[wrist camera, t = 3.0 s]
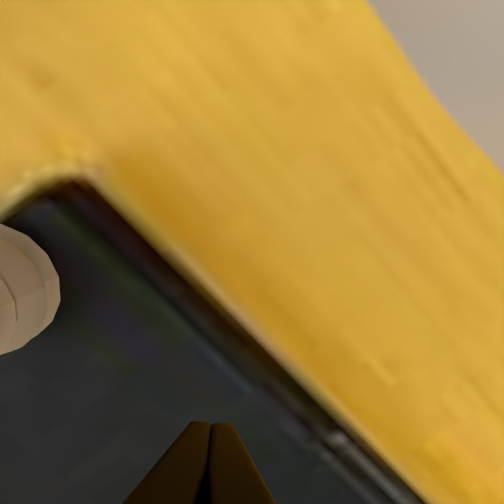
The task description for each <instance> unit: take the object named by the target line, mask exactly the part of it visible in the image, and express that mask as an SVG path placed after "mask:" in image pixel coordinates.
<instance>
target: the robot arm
mask: <svg viewBox="0 0 504 504" xmlns="http://www.w3.org/2000/svg"><path fill="white" fill-rule="evenodd" d="M122 504H276V503H275V501H274V499H273V497H272V496H271V494H270V492H269V490H268V488H267V486H266V485H265V483H264V481H263V479H262V477H261V475H260V474H259V472H258V470H257V468H256V466H255V464H254V463H253V461H252V459H251V457H250V455H249V453H248V451H247V450H246V448H245V446H244V444H243V442H242V440H241V439H240V437H239V435H238V433H237V431H236V429H235V428H234V426H233V425H232V424H226V423H214V424H213V425H212V429H211V424H210V423H209V422H197V421H192V422H191V423H189V425H188V426H187V427H186V428H185V429H184V431H183V432H182V433H181V434H180V435H179V437H178V438H177V439H176V440H175V441H174V443H173V444H172V445H171V446H170V447H169V448H168V450H167V451H166V452H165V453H164V454H163V456H162V457H161V458H160V459H159V460H158V462H157V463H156V464H155V465H154V466H153V468H152V469H151V470H150V471H149V472H148V474H147V475H146V476H145V477H144V478H143V480H142V481H141V482H140V483H139V484H138V485H137V487H136V488H135V489H134V490H133V491H132V493H131V494H130V495H129V496H128V497H127V499H126V500H125V501H124V502H123V503H122Z"/></svg>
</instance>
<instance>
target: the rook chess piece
mask: <svg viewBox="0 0 504 504" xmlns="http://www.w3.org/2000/svg"><path fill="white" fill-rule="evenodd" d="M59 303H60V286H59V276H58V274H57V272H56V270H55V268H54V266H53V264H52V262H51V260H50V258H49V256H48V254H47V253H46V252H44V251H43V250H42V249H41V248H40V247H39V246H38V245H37V244H36V243H35V242H34V241H33V240H32V239H31V238H30V237H29V236H27V235H25V234H23V233H21V232H18V231H16V230H14V229H12V228H9V227H7V226H5V225H2V224H0V355H1V354H5V353H8V352H11V351H14V350H16V349H19V348H21V347H23V346H24V345H25V344H26V343H27V342H28V341H29V340H31V339H32V338H33V337H36V336H37V335H38V334H39V333H40V332H41V331H42V330H43V329H45V328H46V327H47V326H48V325H49V324H50V323H51V322H52V321H53V318H54V316H55V313H56V311H57V308H58V306H59Z"/></svg>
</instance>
